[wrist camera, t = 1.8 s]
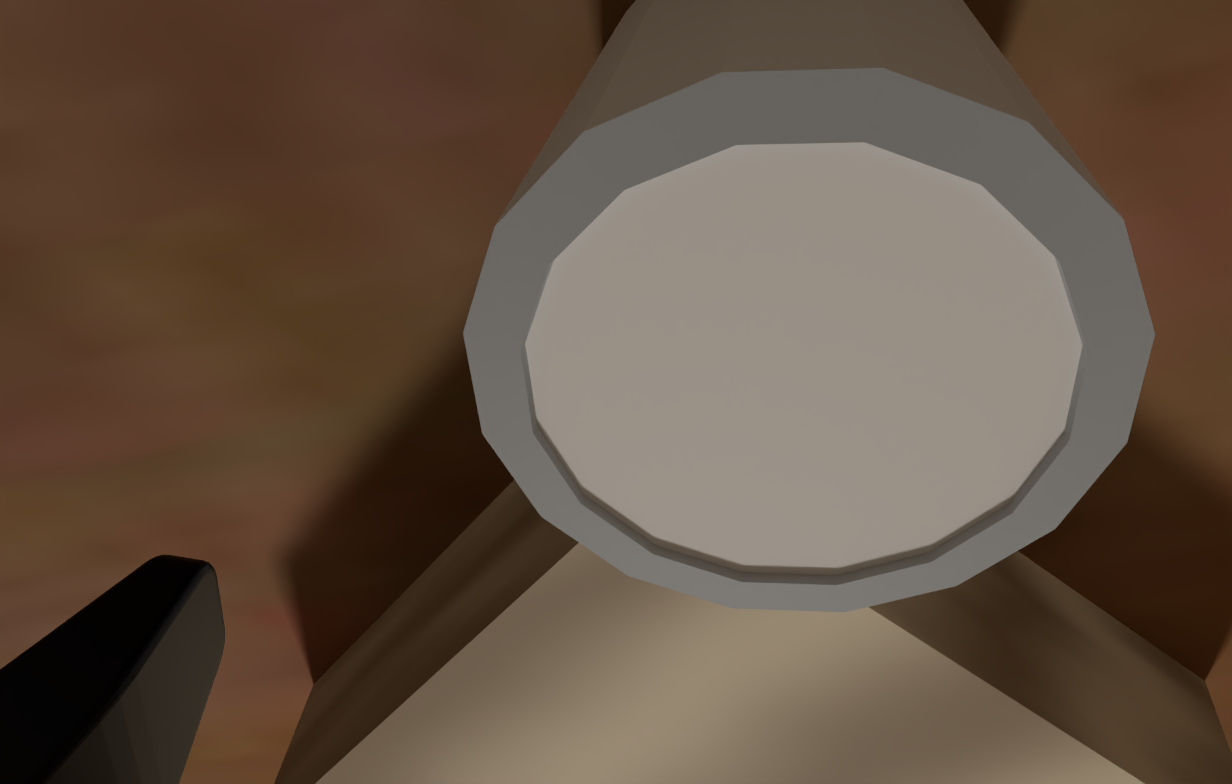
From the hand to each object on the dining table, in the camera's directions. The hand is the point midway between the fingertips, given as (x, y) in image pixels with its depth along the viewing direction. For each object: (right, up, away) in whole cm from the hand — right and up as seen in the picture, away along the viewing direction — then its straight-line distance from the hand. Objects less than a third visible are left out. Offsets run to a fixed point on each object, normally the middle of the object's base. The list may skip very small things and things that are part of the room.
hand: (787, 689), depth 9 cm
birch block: (+1, -4, +17) cm, 18 cm away
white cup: (+1, +7, +8) cm, 11 cm away
